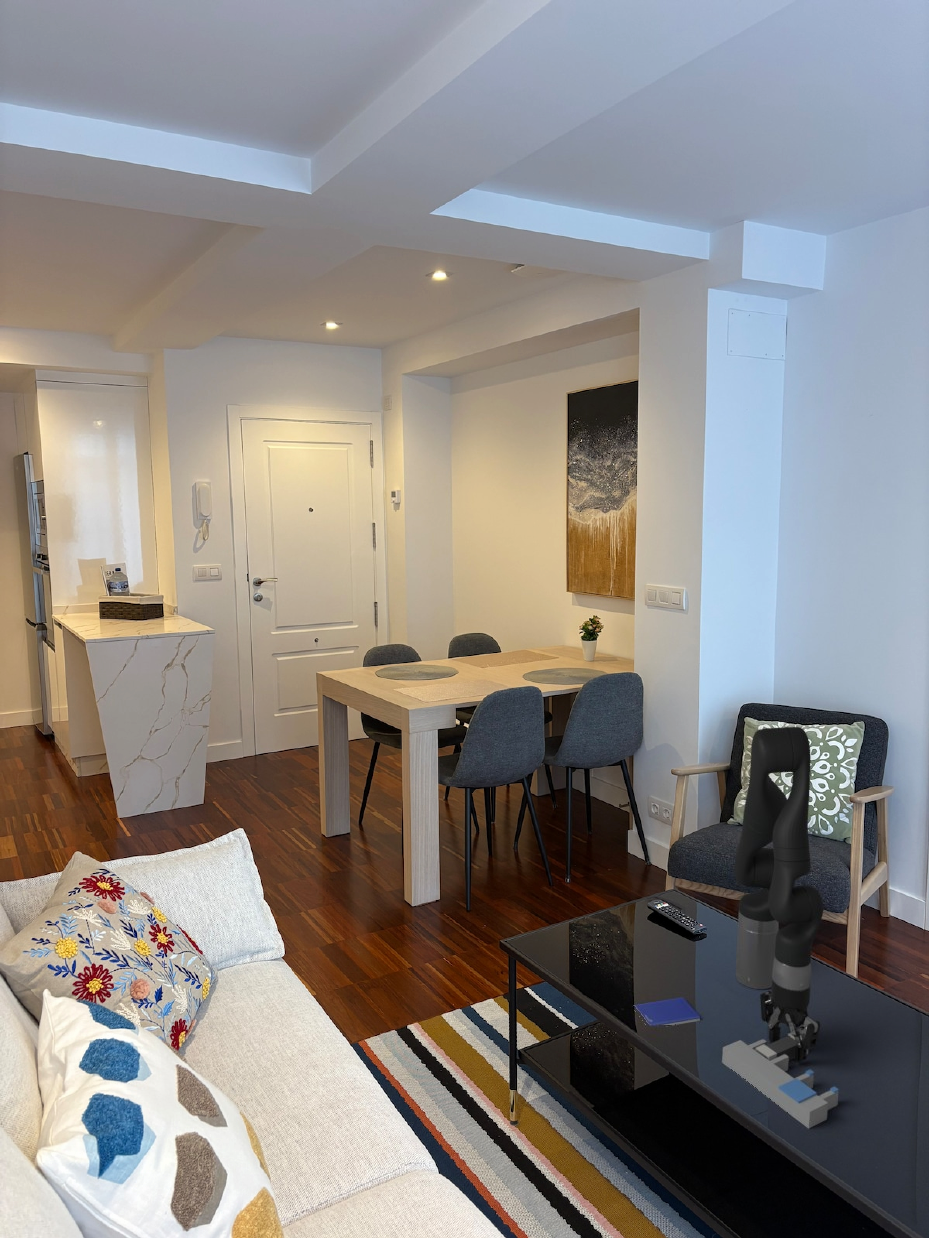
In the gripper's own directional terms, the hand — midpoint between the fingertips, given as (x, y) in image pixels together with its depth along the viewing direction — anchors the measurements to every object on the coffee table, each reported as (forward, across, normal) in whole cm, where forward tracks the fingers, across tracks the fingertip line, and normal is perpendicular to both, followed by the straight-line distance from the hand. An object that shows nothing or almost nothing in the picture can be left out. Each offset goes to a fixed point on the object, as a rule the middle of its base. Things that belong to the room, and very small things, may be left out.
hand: (786, 1052), depth 190 cm
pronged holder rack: (+1, -6, +8) cm, 10 cm away
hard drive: (+2, +24, +12) cm, 27 cm away
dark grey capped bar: (+1, 0, +2) cm, 2 cm away
